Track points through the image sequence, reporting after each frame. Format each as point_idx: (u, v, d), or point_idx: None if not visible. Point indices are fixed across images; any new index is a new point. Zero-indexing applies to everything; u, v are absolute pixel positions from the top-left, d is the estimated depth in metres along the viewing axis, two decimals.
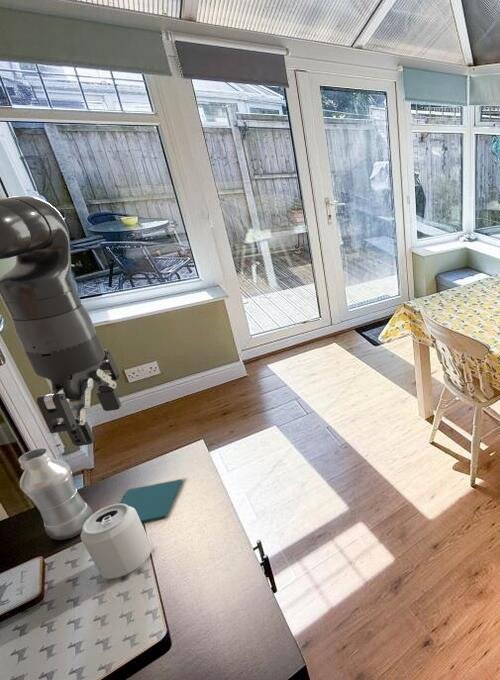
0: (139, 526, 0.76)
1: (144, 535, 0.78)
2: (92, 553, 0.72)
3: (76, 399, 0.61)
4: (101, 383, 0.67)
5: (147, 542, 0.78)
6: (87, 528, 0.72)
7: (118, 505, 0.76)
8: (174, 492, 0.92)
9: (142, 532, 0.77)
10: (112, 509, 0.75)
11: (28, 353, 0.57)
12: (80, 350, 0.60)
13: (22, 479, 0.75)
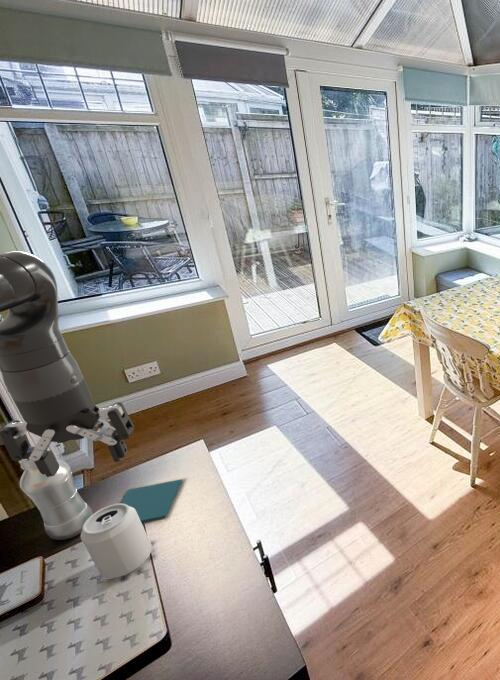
0: (139, 526, 0.76)
1: (144, 535, 0.78)
2: (92, 553, 0.72)
3: None
4: None
5: (147, 542, 0.78)
6: (87, 528, 0.72)
7: (118, 505, 0.76)
8: (174, 492, 0.92)
9: (142, 532, 0.77)
10: (112, 509, 0.75)
11: None
12: (21, 406, 0.59)
13: (22, 479, 0.75)
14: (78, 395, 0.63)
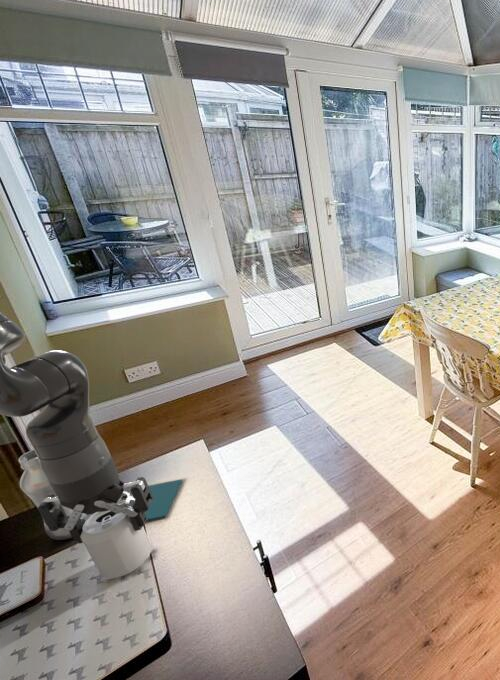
0: None
1: (144, 535, 0.78)
2: (92, 553, 0.72)
3: None
4: None
5: (147, 542, 0.78)
6: (87, 528, 0.72)
7: None
8: (174, 492, 0.92)
9: (142, 532, 0.77)
10: None
11: None
12: (55, 487, 0.66)
13: (22, 479, 0.75)
14: (105, 474, 0.69)
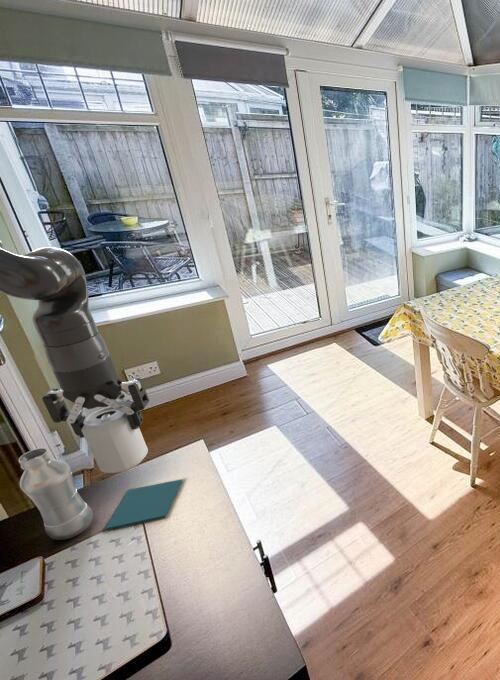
0: None
1: (140, 437, 0.83)
2: (92, 445, 0.77)
3: None
4: None
5: (143, 444, 0.84)
6: (87, 422, 0.78)
7: None
8: (174, 492, 0.92)
9: (138, 433, 0.83)
10: (111, 410, 0.81)
11: None
12: (59, 375, 0.71)
13: (22, 479, 0.75)
14: (104, 369, 0.75)
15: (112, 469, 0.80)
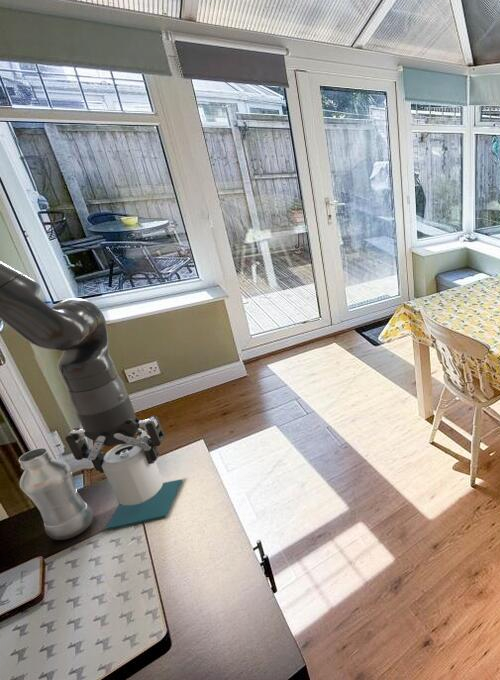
0: None
1: (156, 470, 0.88)
2: (112, 481, 0.82)
3: None
4: None
5: (159, 476, 0.89)
6: (107, 459, 0.82)
7: None
8: (174, 492, 0.92)
9: (154, 467, 0.87)
10: (128, 445, 0.86)
11: None
12: (81, 418, 0.76)
13: (22, 479, 0.75)
14: (124, 410, 0.79)
15: (130, 502, 0.84)
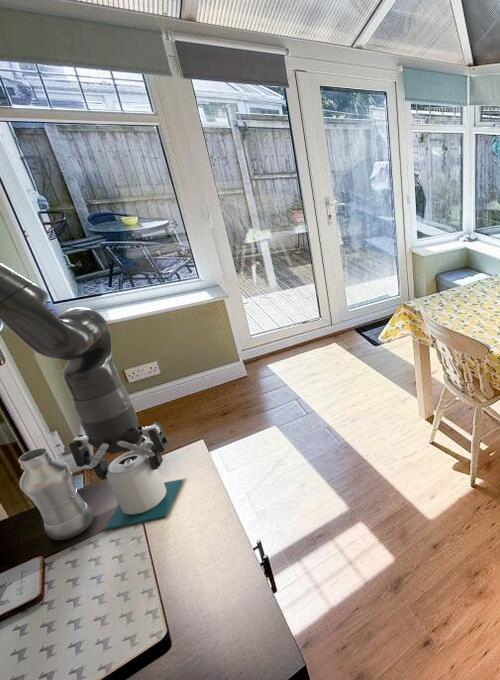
0: (156, 470, 0.88)
1: (160, 479, 0.89)
2: (116, 490, 0.83)
3: None
4: None
5: (162, 485, 0.90)
6: (111, 468, 0.83)
7: None
8: (174, 492, 0.92)
9: (158, 476, 0.88)
10: (132, 455, 0.87)
11: None
12: (85, 425, 0.77)
13: (22, 479, 0.75)
14: (127, 417, 0.80)
15: (134, 511, 0.85)
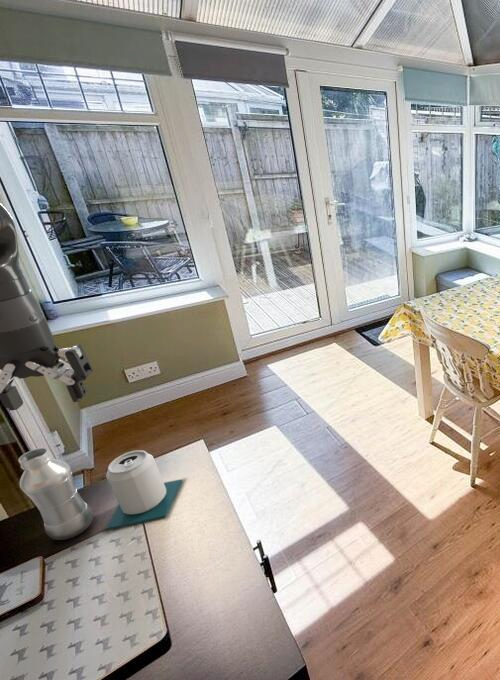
0: (156, 470, 0.88)
1: (160, 479, 0.89)
2: (116, 490, 0.83)
3: None
4: None
5: (162, 485, 0.90)
6: (111, 468, 0.83)
7: (137, 451, 0.87)
8: (174, 492, 0.92)
9: (158, 476, 0.88)
10: (132, 455, 0.87)
11: None
12: None
13: (22, 479, 0.75)
14: (37, 333, 0.67)
15: (134, 511, 0.85)
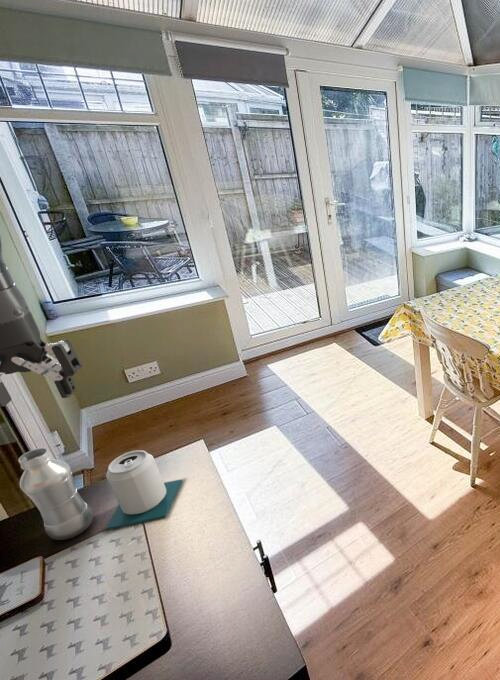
0: (156, 470, 0.88)
1: (160, 479, 0.89)
2: (116, 490, 0.83)
3: None
4: None
5: (162, 485, 0.90)
6: (111, 468, 0.83)
7: (138, 451, 0.87)
8: (174, 492, 0.92)
9: (158, 476, 0.88)
10: (132, 455, 0.87)
11: None
12: None
13: (22, 479, 0.75)
14: (22, 327, 0.66)
15: (134, 511, 0.85)
